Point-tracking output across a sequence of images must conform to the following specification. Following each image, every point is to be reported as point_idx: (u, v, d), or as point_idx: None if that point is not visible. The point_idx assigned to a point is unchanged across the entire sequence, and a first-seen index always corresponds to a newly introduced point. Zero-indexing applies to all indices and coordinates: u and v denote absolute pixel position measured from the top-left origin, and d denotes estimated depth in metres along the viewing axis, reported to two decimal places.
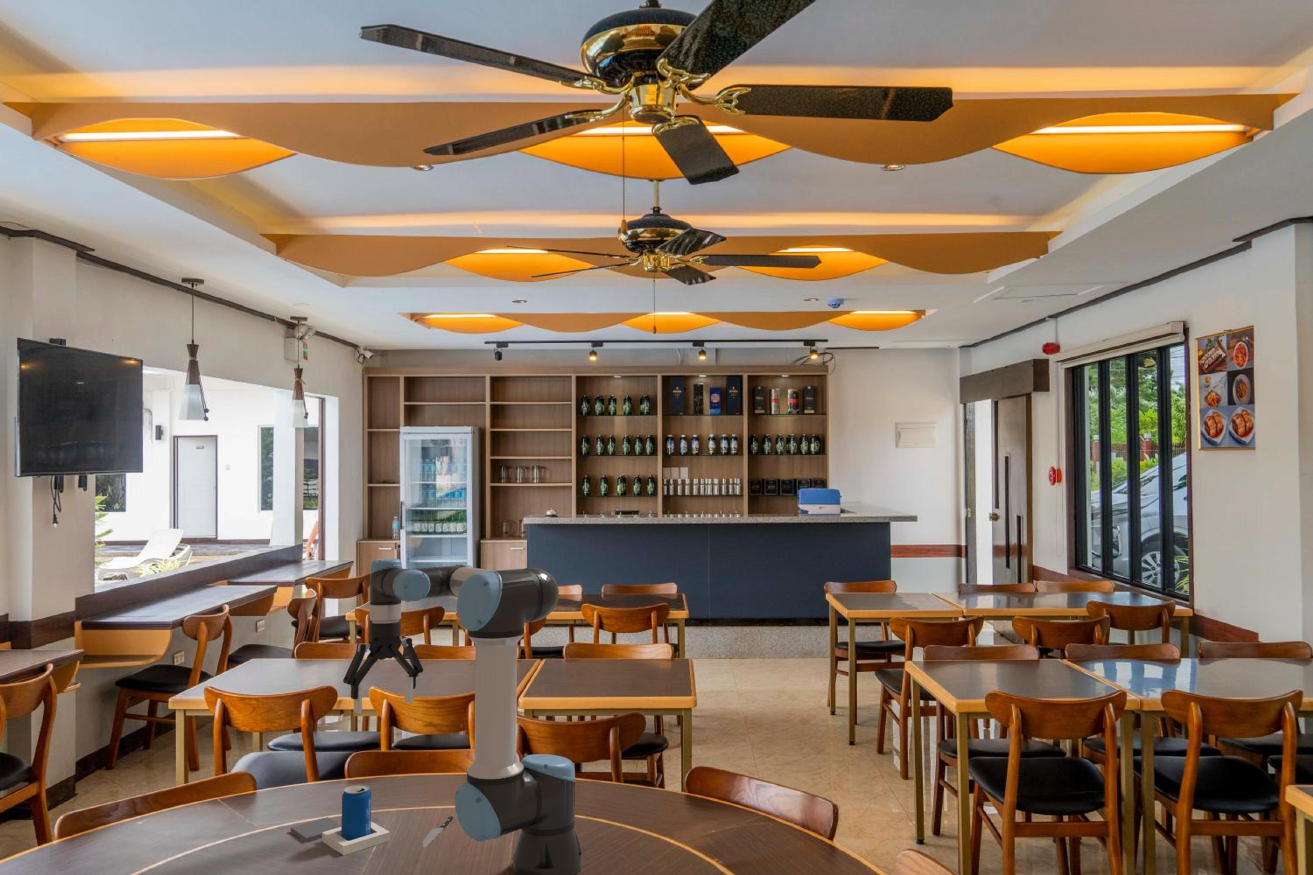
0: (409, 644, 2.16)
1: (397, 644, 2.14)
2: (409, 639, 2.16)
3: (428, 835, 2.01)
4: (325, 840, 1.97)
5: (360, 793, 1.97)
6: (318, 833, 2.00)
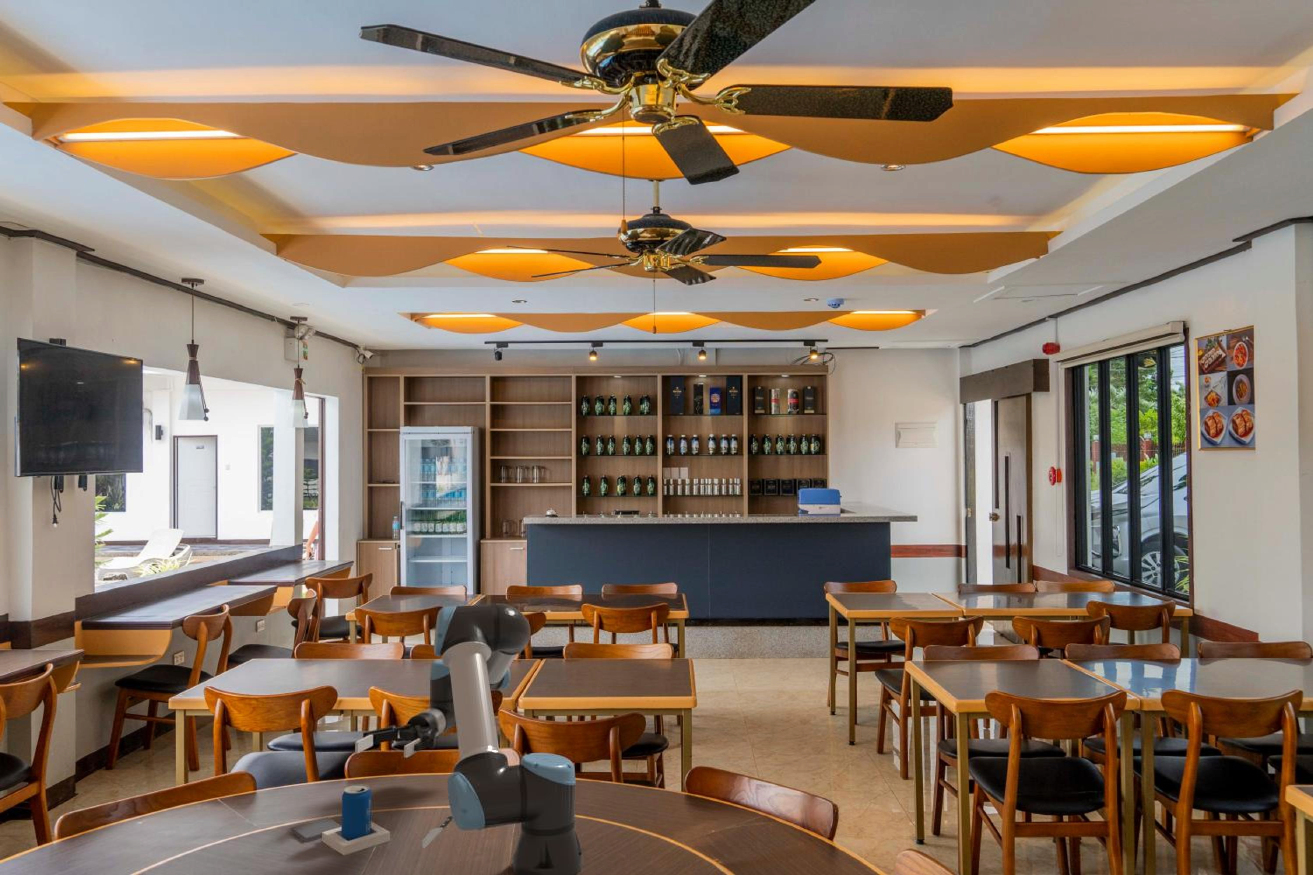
0: (433, 729, 2.22)
1: (423, 728, 2.23)
2: (435, 728, 2.23)
3: (428, 835, 2.01)
4: (325, 840, 1.97)
5: (360, 793, 1.97)
6: (318, 833, 2.00)
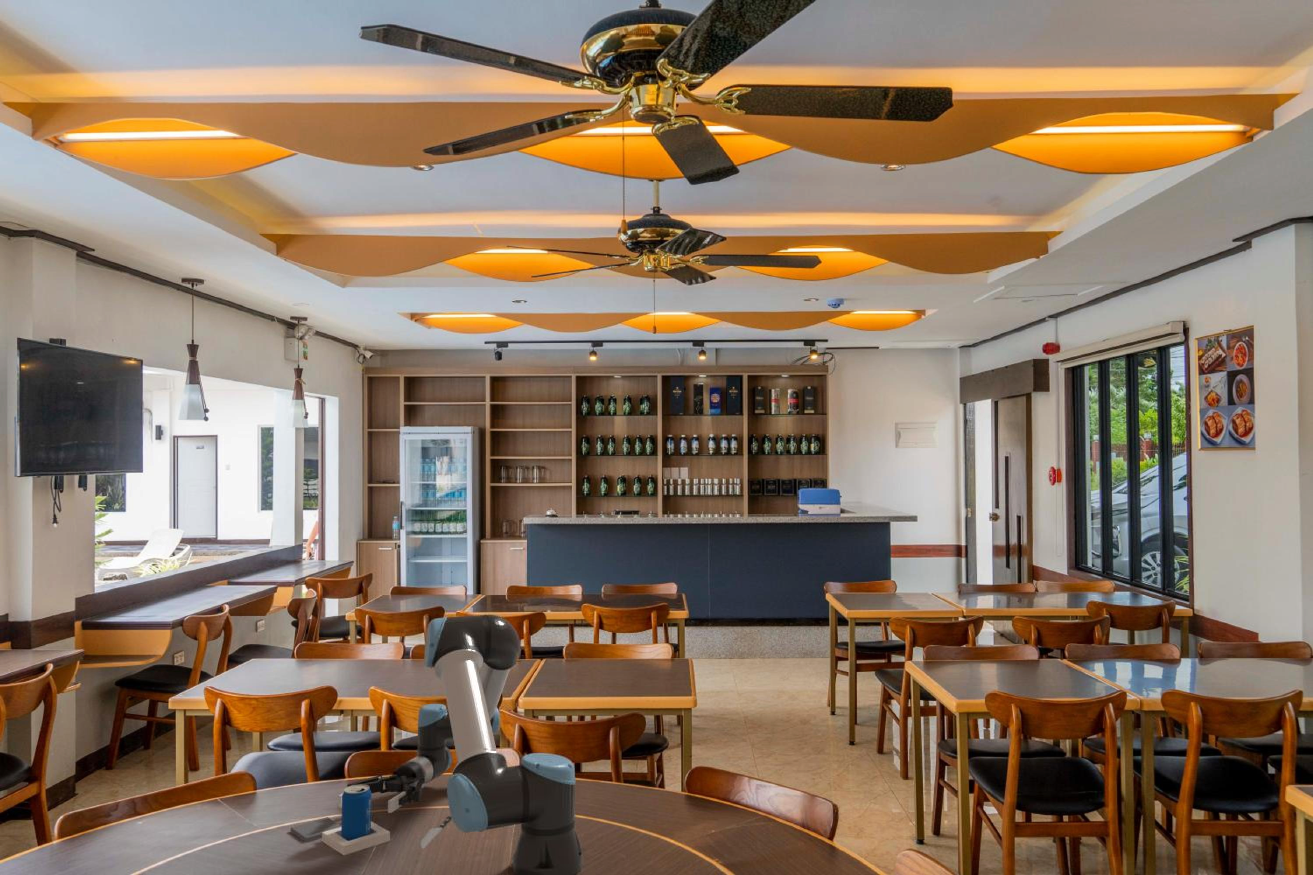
0: (419, 780, 2.15)
1: (409, 779, 2.17)
2: (422, 779, 2.17)
3: (427, 834, 2.01)
4: (325, 840, 1.97)
5: (360, 793, 1.97)
6: (318, 833, 2.00)
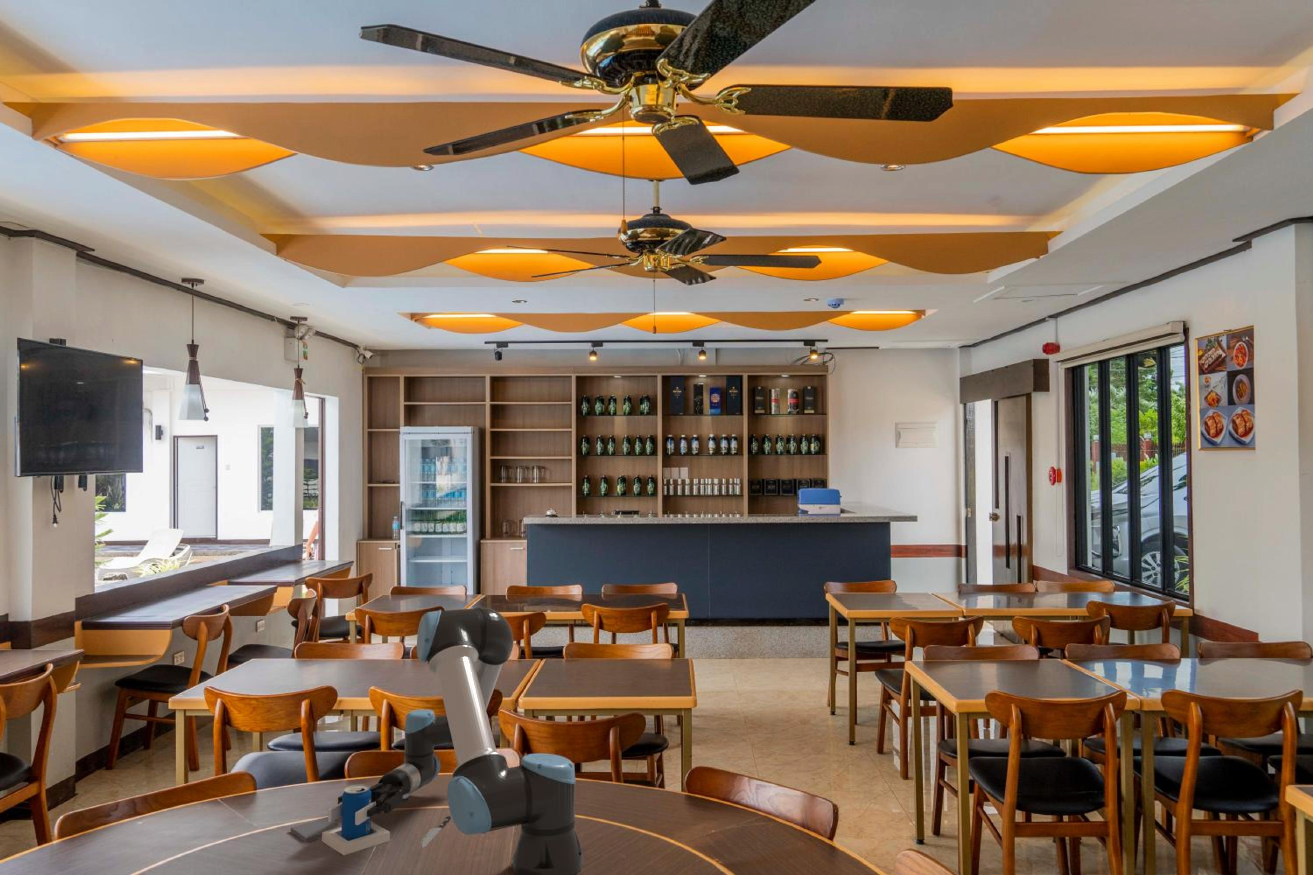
0: (402, 790, 2.08)
1: (395, 788, 2.10)
2: (406, 789, 2.09)
3: (426, 835, 2.01)
4: (325, 840, 1.97)
5: (360, 793, 1.97)
6: (318, 833, 2.00)
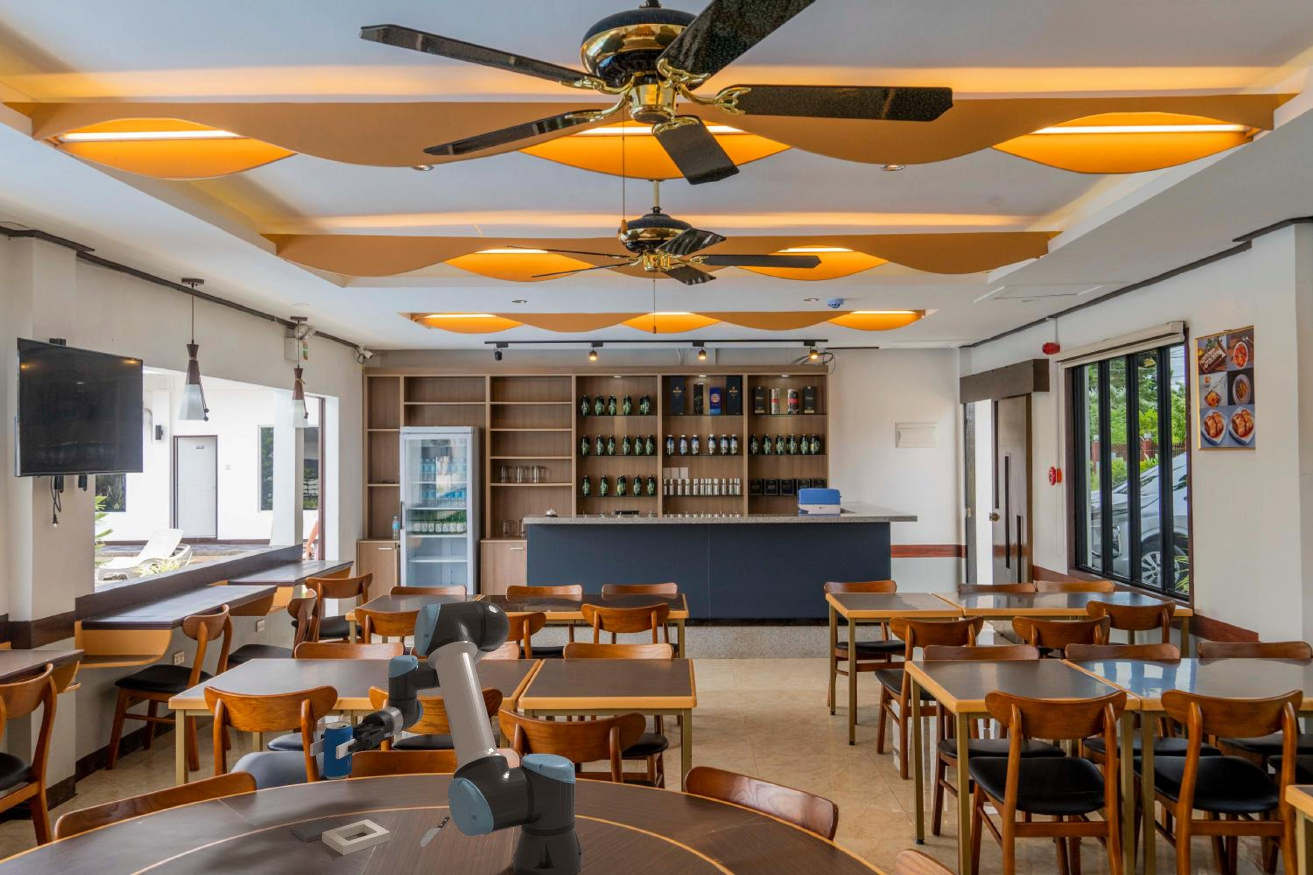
0: (383, 729, 2.12)
1: (377, 727, 2.14)
2: (388, 728, 2.13)
3: (425, 835, 2.01)
4: (325, 840, 1.97)
5: (341, 729, 2.02)
6: (318, 833, 2.00)
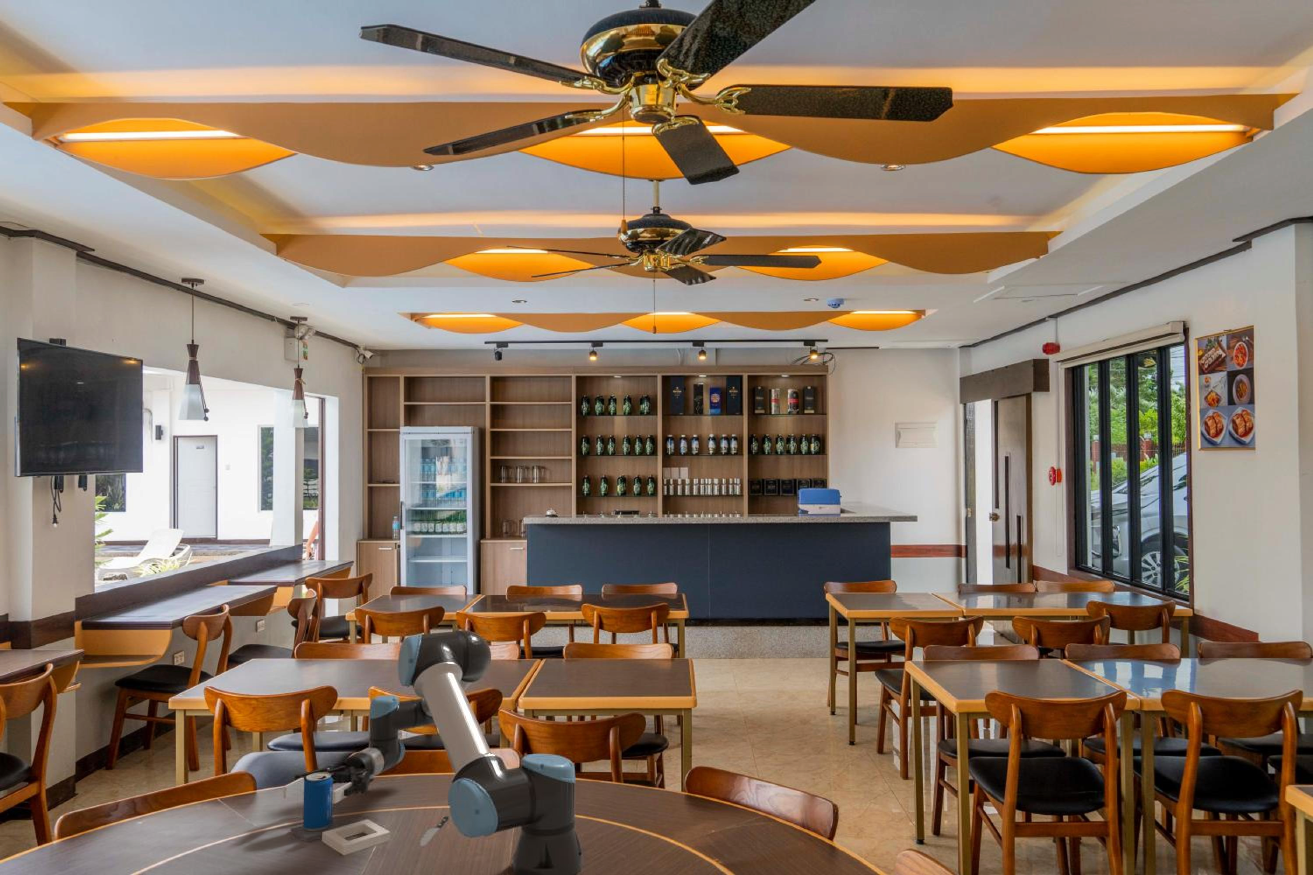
0: (368, 771, 2.14)
1: (357, 770, 2.15)
2: (371, 770, 2.15)
3: (424, 835, 2.01)
4: (325, 840, 1.97)
5: (321, 780, 2.03)
6: (318, 833, 2.00)
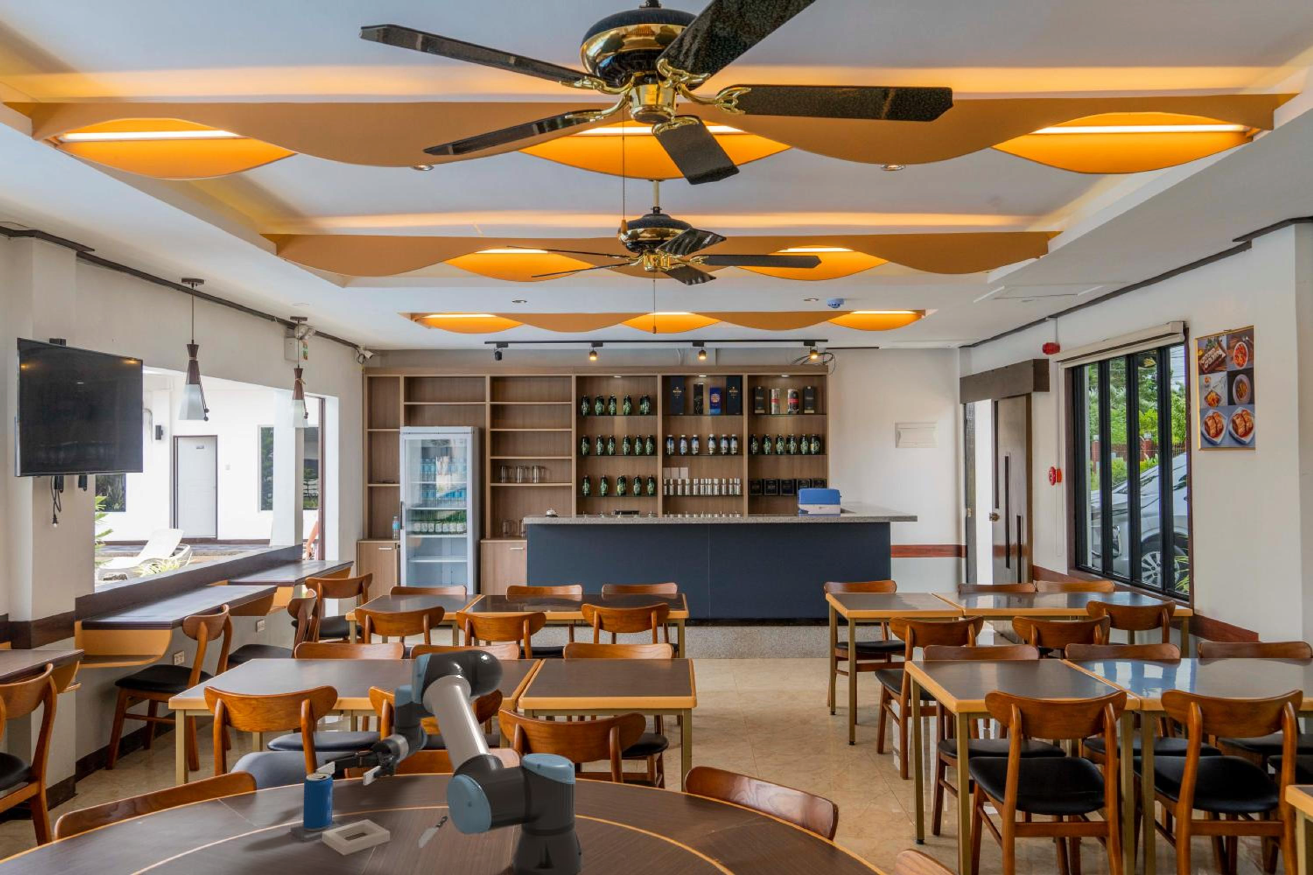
0: (394, 756, 2.26)
1: (384, 755, 2.27)
2: (397, 754, 2.27)
3: (424, 834, 2.01)
4: (325, 840, 1.97)
5: (321, 780, 2.03)
6: (318, 833, 2.00)
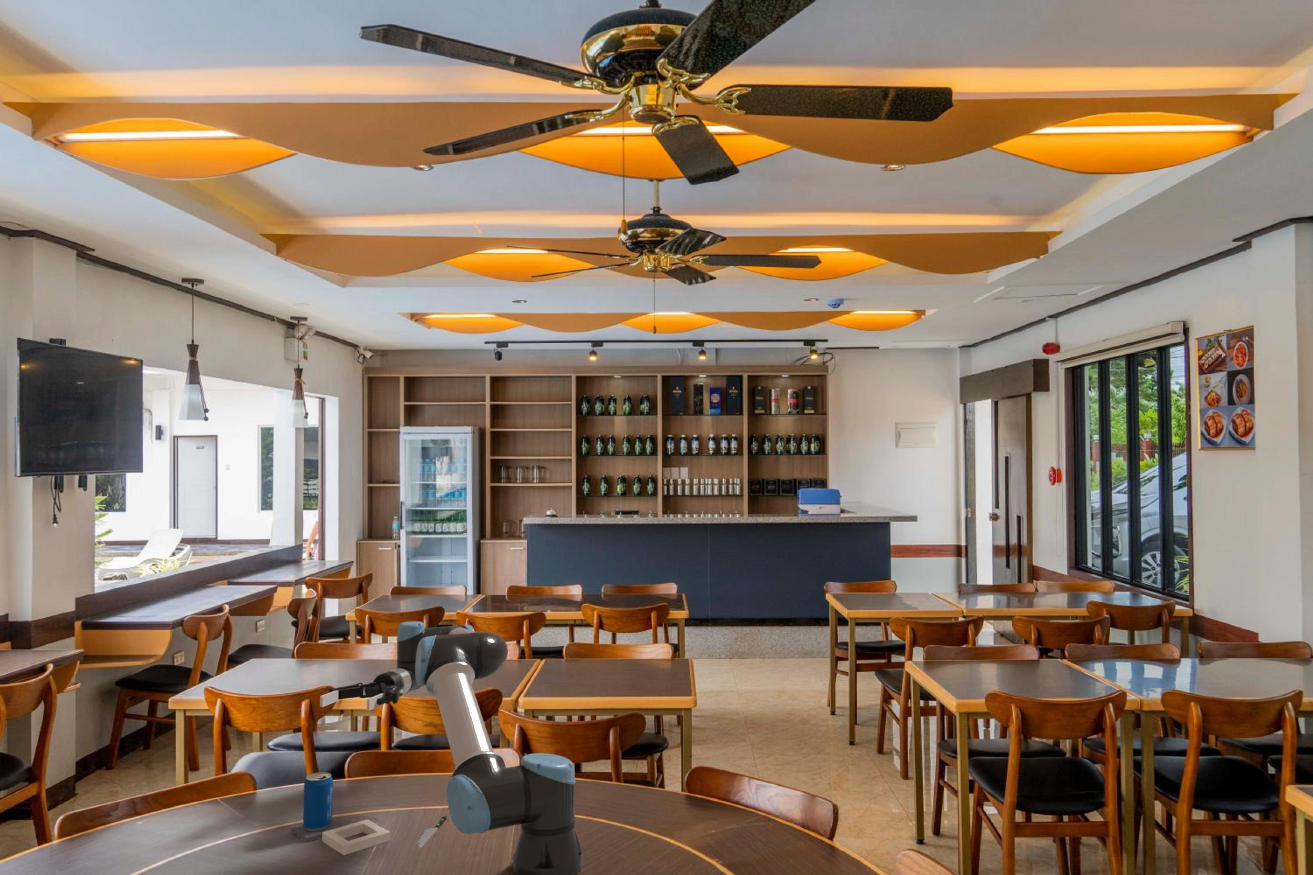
0: (398, 686, 2.28)
1: (388, 686, 2.29)
2: None
3: (423, 834, 2.01)
4: (325, 840, 1.97)
5: (321, 780, 2.03)
6: (318, 833, 2.00)
